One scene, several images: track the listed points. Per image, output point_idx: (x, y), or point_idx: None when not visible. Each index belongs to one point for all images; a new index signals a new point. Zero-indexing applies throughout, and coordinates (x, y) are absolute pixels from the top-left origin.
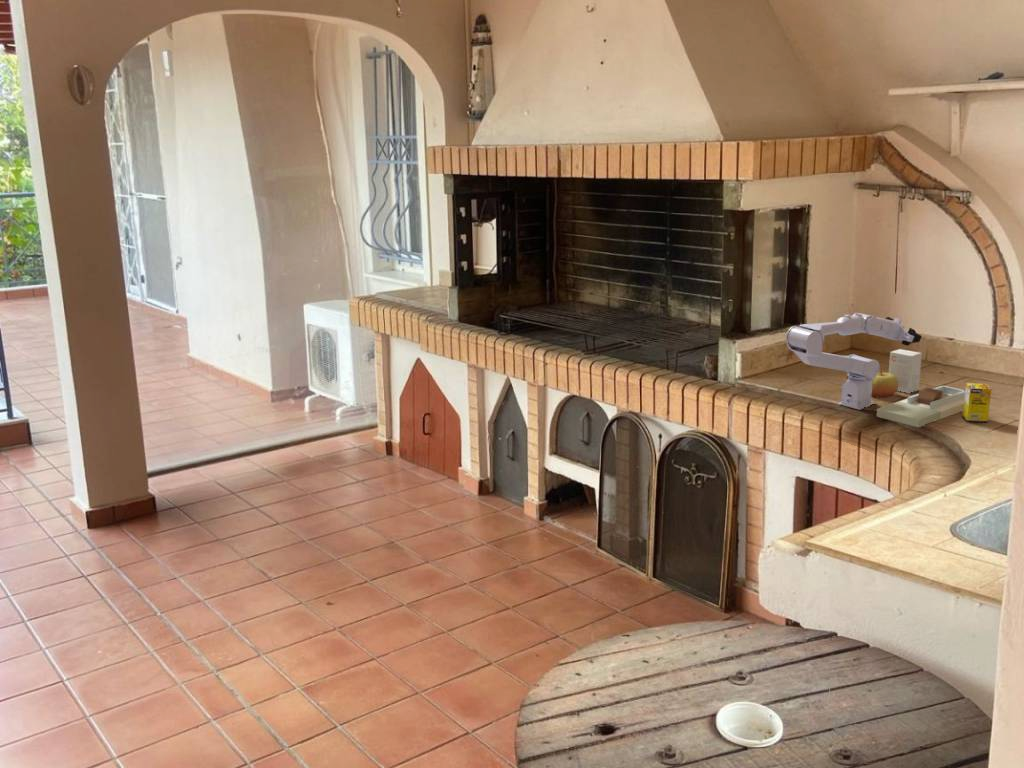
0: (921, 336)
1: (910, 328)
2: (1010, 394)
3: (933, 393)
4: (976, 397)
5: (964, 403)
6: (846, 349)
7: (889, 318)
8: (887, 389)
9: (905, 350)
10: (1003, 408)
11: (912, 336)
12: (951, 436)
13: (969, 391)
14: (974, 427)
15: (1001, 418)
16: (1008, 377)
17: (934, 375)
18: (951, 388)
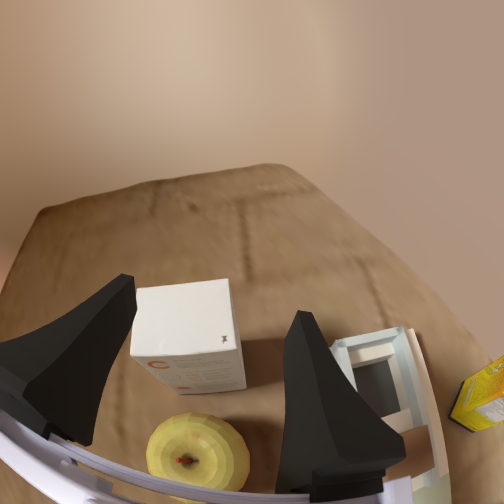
0: (314, 318)
1: (356, 463)
2: (361, 225)
3: (432, 466)
4: None
5: (474, 412)
6: (34, 221)
7: (3, 385)
8: (243, 485)
9: (163, 293)
10: (428, 299)
11: (411, 497)
12: (495, 500)
13: None
14: (490, 434)
15: (471, 350)
16: (282, 167)
17: (193, 226)
18: (367, 342)
